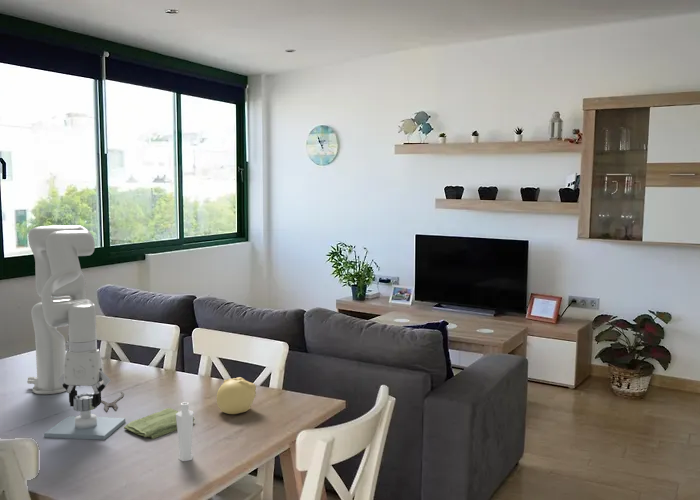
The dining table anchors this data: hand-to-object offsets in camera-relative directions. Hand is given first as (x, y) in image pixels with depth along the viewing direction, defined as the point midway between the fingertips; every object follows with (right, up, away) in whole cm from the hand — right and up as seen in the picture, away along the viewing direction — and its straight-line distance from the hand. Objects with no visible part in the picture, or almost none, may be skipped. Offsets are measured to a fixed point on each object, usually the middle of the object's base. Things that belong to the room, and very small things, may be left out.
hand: (85, 404), depth 194 cm
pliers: (-1, -6, +26) cm, 27 cm away
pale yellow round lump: (+41, -6, +17) cm, 45 cm away
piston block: (0, -7, +1) cm, 8 cm away
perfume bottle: (+34, -10, -19) cm, 40 cm away
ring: (0, -1, 0) cm, 1 cm away
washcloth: (+21, -8, +3) cm, 23 cm away
